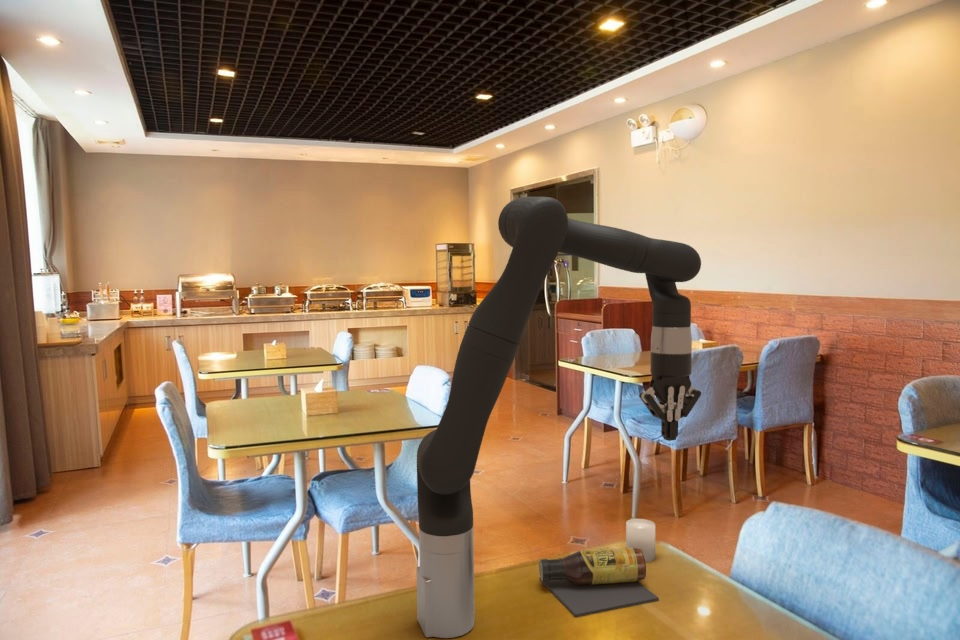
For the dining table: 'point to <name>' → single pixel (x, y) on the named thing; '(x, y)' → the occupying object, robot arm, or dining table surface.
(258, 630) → the dining table surface
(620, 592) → the bar mat
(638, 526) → the white rounded cylinder
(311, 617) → the dining table surface
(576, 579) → the sauce bottle
